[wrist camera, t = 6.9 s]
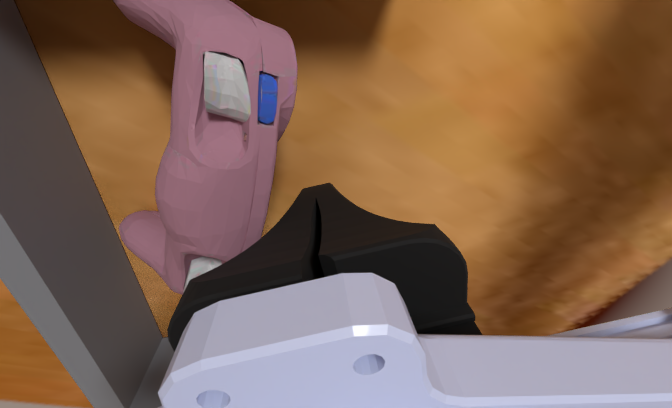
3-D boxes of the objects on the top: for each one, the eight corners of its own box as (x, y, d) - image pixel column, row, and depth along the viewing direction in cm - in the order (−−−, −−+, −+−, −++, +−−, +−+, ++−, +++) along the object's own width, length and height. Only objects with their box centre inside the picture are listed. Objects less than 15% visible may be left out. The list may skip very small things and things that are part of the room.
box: (414, -117, 9) (483, -217, 6) (381, 329, 19) (399, 393, 15) (-91, -129, 8) (-391, -262, 5) (147, 353, 18) (109, 429, 14)
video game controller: (224, 222, 16) (274, 326, 11) (119, 229, 13) (123, 369, 8) (255, 14, 12) (355, 34, 7) (110, -39, 9) (107, -67, 4)
